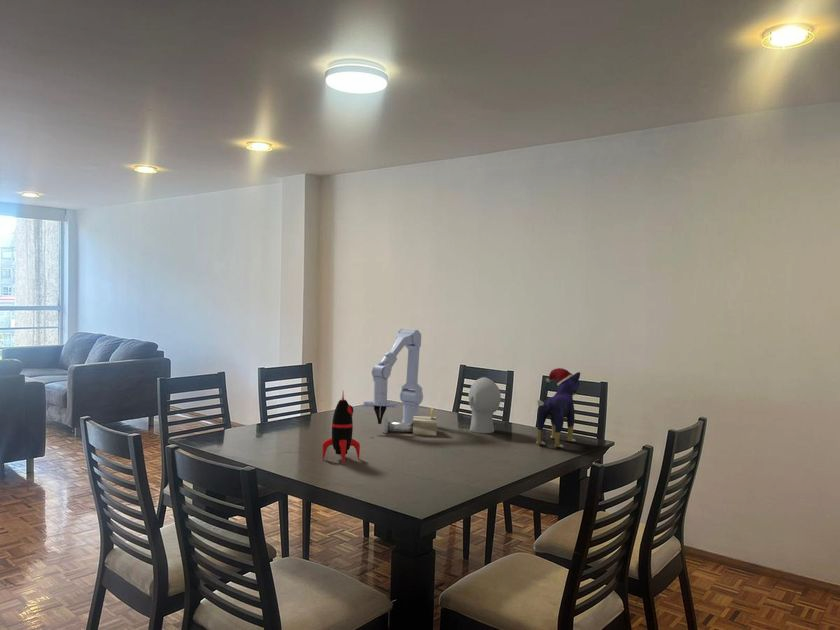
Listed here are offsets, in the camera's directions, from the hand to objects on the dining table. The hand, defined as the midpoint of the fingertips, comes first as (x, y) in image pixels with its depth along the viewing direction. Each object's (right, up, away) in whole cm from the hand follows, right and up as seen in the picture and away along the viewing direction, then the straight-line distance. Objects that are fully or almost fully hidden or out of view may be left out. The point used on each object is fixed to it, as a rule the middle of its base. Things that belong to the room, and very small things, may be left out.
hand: (379, 423), depth 271 cm
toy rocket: (-11, -5, -48) cm, 50 cm away
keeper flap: (+23, +3, 0) cm, 23 cm away
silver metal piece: (+9, -4, 0) cm, 10 cm away
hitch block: (+19, -4, 0) cm, 20 cm away
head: (+45, -5, +8) cm, 46 cm away
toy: (+72, -6, -11) cm, 73 cm away
